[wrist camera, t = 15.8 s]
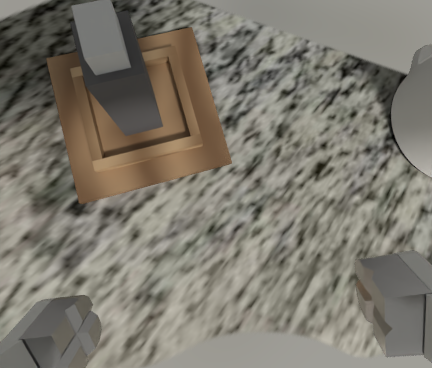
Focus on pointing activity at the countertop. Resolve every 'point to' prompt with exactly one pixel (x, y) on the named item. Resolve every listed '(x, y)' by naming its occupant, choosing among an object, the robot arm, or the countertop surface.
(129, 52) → the capped dark pillar
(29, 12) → the countertop surface
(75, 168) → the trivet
